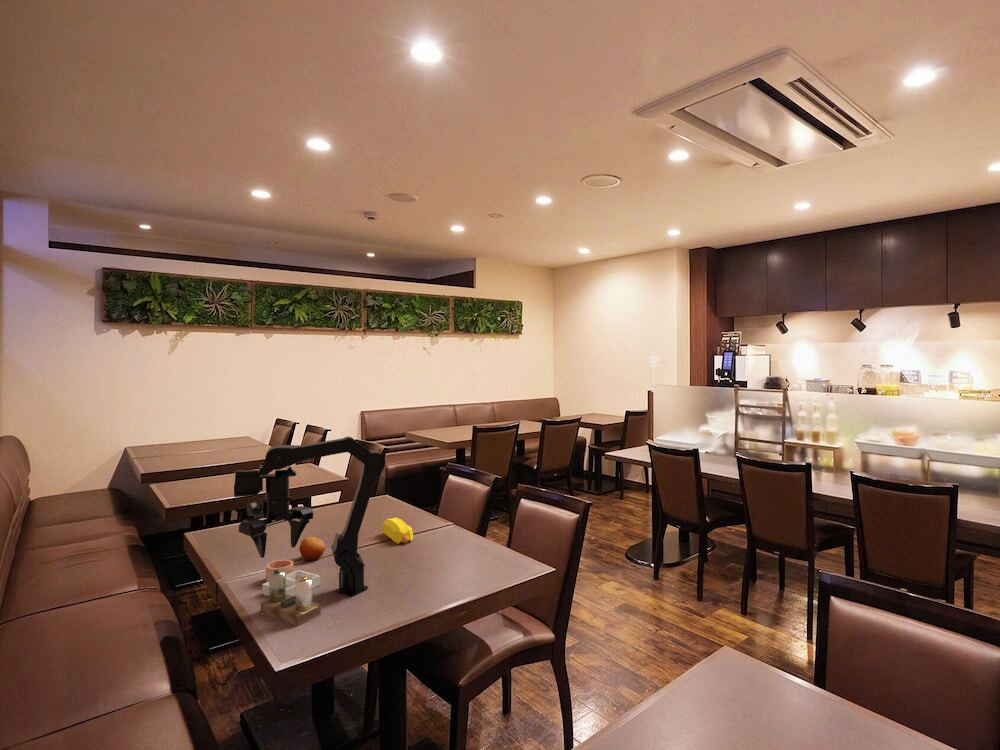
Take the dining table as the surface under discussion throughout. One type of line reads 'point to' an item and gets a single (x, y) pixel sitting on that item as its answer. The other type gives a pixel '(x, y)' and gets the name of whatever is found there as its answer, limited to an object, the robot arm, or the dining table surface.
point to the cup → (279, 567)
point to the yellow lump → (397, 530)
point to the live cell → (303, 594)
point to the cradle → (289, 611)
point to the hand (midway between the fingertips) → (278, 552)
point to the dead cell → (277, 586)
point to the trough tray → (291, 581)
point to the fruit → (311, 548)
